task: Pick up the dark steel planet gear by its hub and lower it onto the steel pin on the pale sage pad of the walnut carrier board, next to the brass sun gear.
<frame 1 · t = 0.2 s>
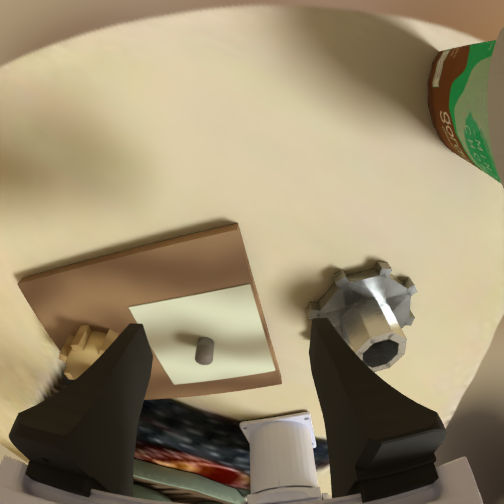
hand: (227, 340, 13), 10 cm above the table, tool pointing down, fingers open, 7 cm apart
food container: (457, 125, 18), on the table
tea set: (150, 491, 49), on the table
carrier board: (148, 333, 26), on the table
planet gear: (362, 311, 26), on the table
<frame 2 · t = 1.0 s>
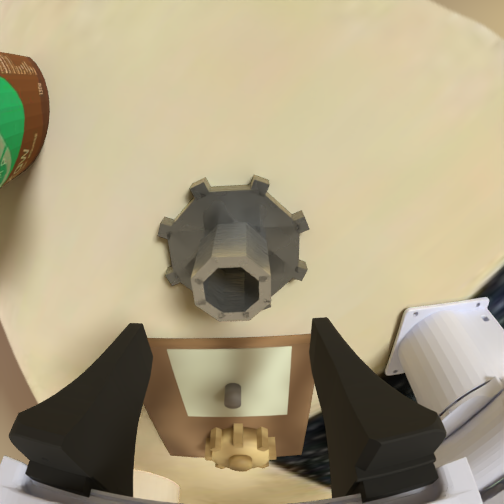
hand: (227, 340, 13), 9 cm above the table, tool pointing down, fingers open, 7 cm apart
food container: (24, 136, 17), on the table
carrier board: (227, 408, 30), on the table
planet gear: (234, 245, 21), on the table
bottle: (146, 481, 42), on the table
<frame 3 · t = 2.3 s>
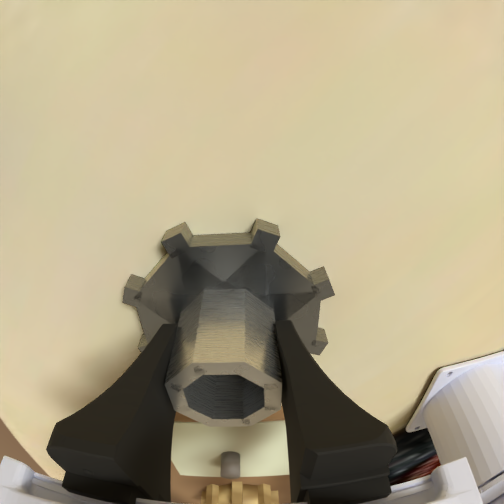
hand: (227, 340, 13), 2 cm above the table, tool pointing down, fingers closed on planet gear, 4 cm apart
carrier board: (224, 467, 24), on the table
planet gear: (229, 312, 15), on the table, touching gripper
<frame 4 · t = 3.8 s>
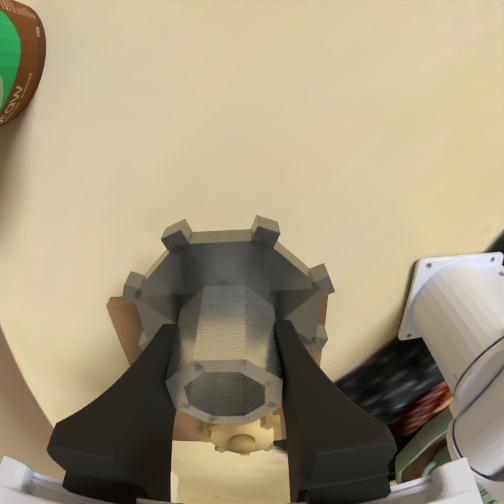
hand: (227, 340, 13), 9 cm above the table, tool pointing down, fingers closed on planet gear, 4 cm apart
food container: (19, 82, 15), on the table
tea set: (492, 415, 39), on the table
carrier board: (227, 382, 28), on the table
planet gear: (228, 308, 15), point 7 cm above the table, touching gripper
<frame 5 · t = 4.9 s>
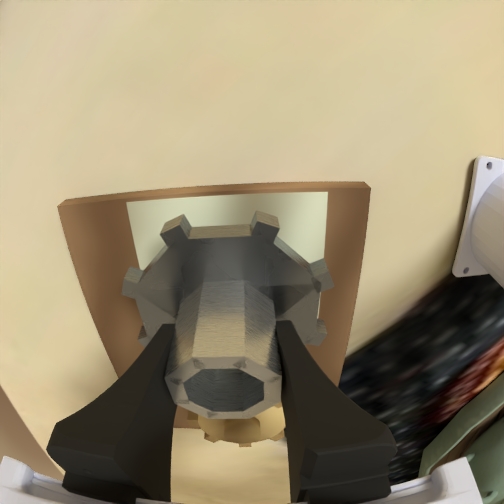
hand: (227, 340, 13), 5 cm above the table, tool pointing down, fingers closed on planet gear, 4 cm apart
carrier board: (222, 338, 20), on the table
planet gear: (228, 303, 15), point 3 cm above the table, touching gripper
when the fingers open (4 cm above the table, at t = 5.6 s): planet gear stays where it is, resting on carrier board.
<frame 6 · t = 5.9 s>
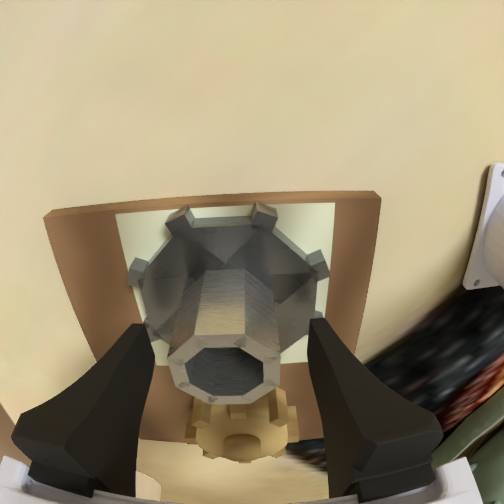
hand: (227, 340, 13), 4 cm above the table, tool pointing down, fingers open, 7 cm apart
carrier board: (220, 355, 19), on the table
planet gear: (229, 294, 16), point 1 cm above the table, touching carrier board
bottle: (119, 477, 31), on the table
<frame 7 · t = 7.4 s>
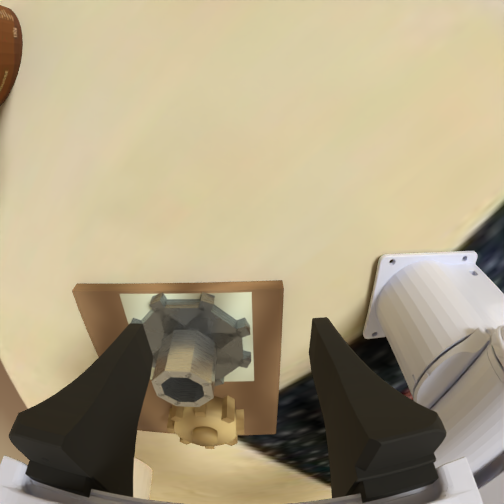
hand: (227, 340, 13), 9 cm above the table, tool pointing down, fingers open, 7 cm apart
carrier board: (190, 373, 28), on the table
planet gear: (191, 340, 24), point 1 cm above the table, touching carrier board
bottle: (118, 463, 40), on the table
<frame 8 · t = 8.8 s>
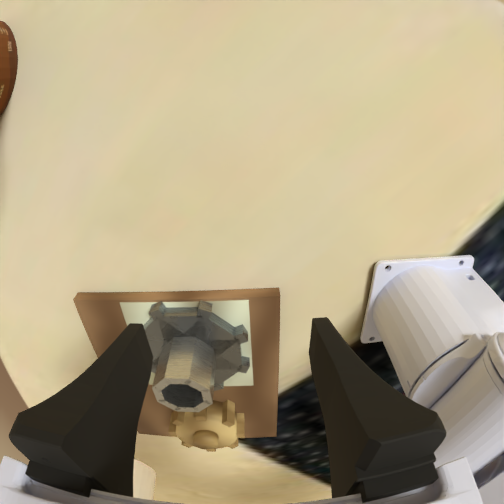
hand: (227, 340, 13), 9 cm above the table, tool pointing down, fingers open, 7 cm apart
carrier board: (190, 378, 28), on the table
planet gear: (190, 346, 25), point 1 cm above the table, touching carrier board
bottle: (122, 465, 40), on the table
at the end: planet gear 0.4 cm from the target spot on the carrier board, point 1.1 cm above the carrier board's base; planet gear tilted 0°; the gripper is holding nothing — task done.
